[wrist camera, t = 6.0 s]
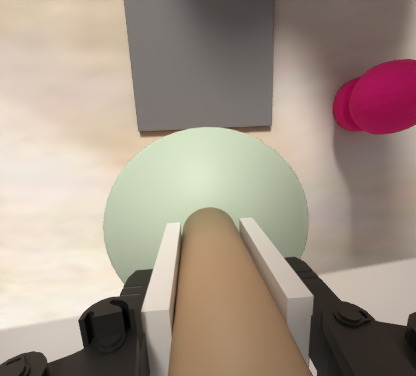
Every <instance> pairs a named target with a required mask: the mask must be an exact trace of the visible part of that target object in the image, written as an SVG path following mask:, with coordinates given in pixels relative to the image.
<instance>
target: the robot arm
mask: <svg viewBox="0 0 416 376" xmlns="http://www.w3.org/2000/svg"><path fill="white" fill-rule="evenodd" d="M239 233H240V235H241V237H242V239H243V241H244V243H245V245H246V247H247V249H248V251H249V253H250V255H251V256H252V258H253V260H254V262H255V264H256V266H257V268H258V270H259V272H260V274H261V276H262V278H263V280H264V282H265V284H266V286H267V288H268V290H269V291H270V293H271V295H272V297H273V299H274V301H275V303H276V305H277V307H278V309H279V311H280V313H281V315H282V317H283V319H284V321H285V323H286V325H287V326H288V328H289V330H290V332H291V334H292V336H293V338H294V340H295V342H296V344H297V346H298V348H299V350H300V352H301V354H302V356H303V358H304V360H305V361H306V363H307V365H308V367H309V359H311V360H312V362H313V364H314V366H315V368H316V370H317V376H416V312H415V313H412V314H410V315H409V318H408V323H407V326H403V325H396V324H390V323H383V322H379V321H375V319H374V318H373V317H372V316H371V315H370V314H368V312H367V311H365V310H363V309H362V308H360V307H358V306H356V305H354V304H351V303H348V302H343V301H341V300H340V299H339V298H338V297H337V296H336V295H335V294H334V293H333V292H332V291H331V289H330V288H329V287H328V286H327V285H326V284H325V283H324V282H323V281H322V280H321V279H320V278H319V277H318V275H317V274H316V273H315V272H313V270H312V269H311V268H310V267H309V266H308V265H307V264H306V263H305V262H304V261H302V260H300V259H298V258H297V257H285V258H284V257H283V256H282V255H281V254H280V252H279V251H278V250H277V248H276V247H275V246H274V245H273V243H272V242H271V241H270V240H269V238H268V237H267V236H266V234H265V233H264V232H263V231H262V229H261V228H260V227H259V225H258V224H257V223H256V222H255V220H254V219H253V218H252V217H250V218H239ZM181 242H182V233H181V222H177V223H167V225H166V229H165V232H164V235H163V239H162V242H161V245H160V249H159V252H158V256H157V259H156V262H155V266H154V269H146V270H136V271H135V272H134V273H133V274H132V275H130V276H129V277H128V278H127V281H126V283H125V285H124V288H123V289H122V291H121V294H120V297H110V298H107V299H104V300H101V301H99V302H97V303H95V304H93V305H92V306H90V307H89V308H88V309H87V310H86V311H85V312H84V313H83V314H82V316H81V317H80V319H79V320H78V321H79V326H80V331H81V336H82V341H83V346H84V349H82V350H81V351H78V352H76V353H74V354H72V355H69V356H67V357H64V358H61V359H59V360H56V361H53V362H50V363H47V359H46V357H45V356H44V355H43V354H42V353H40V352H34V351H33V352H29V353H23V354H20V355H18V356H16V357H13V358H11V359H9V360H7V361H6V362H4V363H2V364H1V365H0V376H168V368H169V358H170V349H171V340H172V331H173V321H174V311H175V301H176V292H177V282H178V272H179V262H180V252H181Z"/></svg>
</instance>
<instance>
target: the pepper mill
mask: <svg viewBox="0 0 416 376" xmlns="http://www.w3.org/2000/svg"><path fill="white" fill-rule="evenodd" d="M333 112H334V116H335V119H336V121H337V122H338V124H339V125H340V126H341V127H342V128H344V129H346V130H349V131H366V132H368V133H372V134H389V133H395V132H399V131H402V130H405V129H408V128H410V127H412V126H414V125H416V60H411V59H403V60H393V61H389V62H386V63H382V64H379V65H377V66H375V67H373V68H372V69H370V70H368V71H367V72H366V73H365V74H364V75H363V76H361V77H358V78H356V79H353V80H351V81H349V82H347V83H346V84H345V85H343V86H342V87H341V89H340V90H339V91H338V93H337V95H336V97H335V100H334V105H333Z"/></svg>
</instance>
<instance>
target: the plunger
mask: <svg viewBox="0 0 416 376" xmlns="http://www.w3.org/2000/svg"><path fill="white" fill-rule="evenodd" d="M250 217H252V218H253V219H254V220H255V222H256V223H257V224H258V225H259V227H260V228H261V229H262V231H263V232H264V233H265V234H266V236H267V237H268V238H269V240H270V241H271V242H272V243H273V245H274V246H275V247H276V248H277V250H278V251H279V252H280V254H281V255H282V256H283V257H284V258H285V257H297V258H298V259H300V258H301V256H302V253H303V251H304V247H305V244H306V240H307V234H308V208H307V201H306V198H305V194H304V191H303V188H302V186H301V184H300V182H299V179H298V177H297V176H296V174H295V173H294V171H293V170H292V168H291V166H290V165H289V164H288V163H287V162H286V161H285V159H284V158H283V157H282V156H281V155H280V154H278V153H277V152H276V151H275V150H274V149H273V148H272V147H270V146H269V145H267V144H265V143H264V142H262V141H261V140H259V139H257V138H255V137H253V136H250V135H248V134H246V133H242V132H239V131H236V130H232V129H226V128H220V127H200V128H191V129H186V130H182V131H178V132H175V133H172V134H170V135H167V136H165V137H162V138H160V139H158V140H157V141H155V142H153V143H151V144H150V145H148V146H147V147H145V148H144V149H143V150H142V151H140V152H139V153H138V154H136V156H135V157H134V158H133V159H132V160H131V161H130V162H129V163H128V164H127V165H126V166H125V167H124V169H123V170H122V171H121V173H120V174H119V176H118V177H117V179H116V181H115V183H114V185H113V187H112V189H111V191H110V194H109V197H108V199H107V203H106V208H105V213H104V225H103V229H104V241H105V245H106V249H107V253H108V256H109V259H110V261H111V264H112V266H113V268H114V269H115V271H116V273H117V275H118V276H119V278H120V279H121V280H122V282H123V283H124V284H125V283H126V281H127V278H128V277H129V276H130V275H132V274H133V273H134V272H135V271H136V270H146V269H154V266H155V262H156V259H157V256H158V252H159V249H160V245H161V242H162V239H163V235H164V232H165V229H166V225H167V223H177V222H181V233H182V242H181V252H180V262H179V272H178V282H177V292H176V301H175V311H174V321H173V331H172V340H171V349H170V358H169V368H168V376H313V375H312V373H311V371H310V370H309V367H308V365H307V363H306V361H305V360H304V358H303V356H302V354H301V352H300V350H299V348H298V346H297V344H296V342H295V340H294V338H293V336H292V334H291V332H290V330H289V328H288V326H287V325H286V323H285V321H284V319H283V317H282V315H281V313H280V311H279V309H278V307H277V305H276V303H275V301H274V299H273V297H272V295H271V293H270V291H269V290H268V288H267V286H266V284H265V282H264V280H263V278H262V276H261V274H260V272H259V270H258V268H257V266H256V264H255V262H254V260H253V258H252V256H251V255H250V253H249V251H248V249H247V247H246V245H245V243H244V241H243V239H242V237H241V235H240V233H239V218H250Z"/></svg>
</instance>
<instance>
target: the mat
mask: <svg viewBox="0 0 416 376" xmlns="http://www.w3.org/2000/svg"><path fill="white" fill-rule="evenodd" d="M124 6H125V15H126V24H127V33H128V42H129V51H130V60H131V70H132V79H133V88H134V97H135V106H136V115H137V124H138V131H162V130H185V129H191V128H200V127H220V128H231V127H254V126H272V95H273V38H274V0H124Z"/></svg>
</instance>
